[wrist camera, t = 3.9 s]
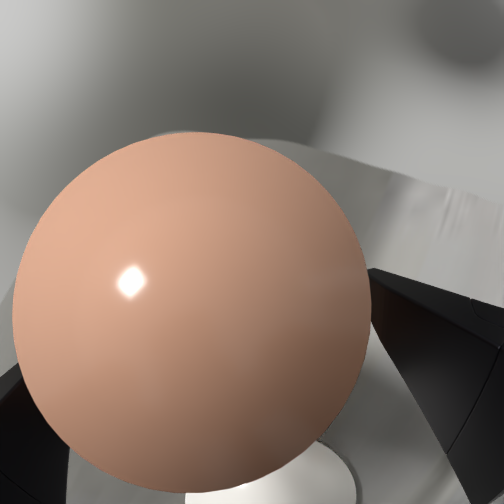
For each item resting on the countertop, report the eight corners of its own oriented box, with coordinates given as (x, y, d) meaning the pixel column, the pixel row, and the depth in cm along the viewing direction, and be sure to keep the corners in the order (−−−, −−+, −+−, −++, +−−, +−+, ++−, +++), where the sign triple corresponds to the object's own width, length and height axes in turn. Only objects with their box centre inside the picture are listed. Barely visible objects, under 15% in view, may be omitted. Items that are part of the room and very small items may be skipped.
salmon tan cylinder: (238, 423, 15) (185, 555, 3) (161, 353, 16) (-25, 295, 4) (308, 346, 16) (436, 272, 4) (230, 280, 18) (179, 91, 6)
